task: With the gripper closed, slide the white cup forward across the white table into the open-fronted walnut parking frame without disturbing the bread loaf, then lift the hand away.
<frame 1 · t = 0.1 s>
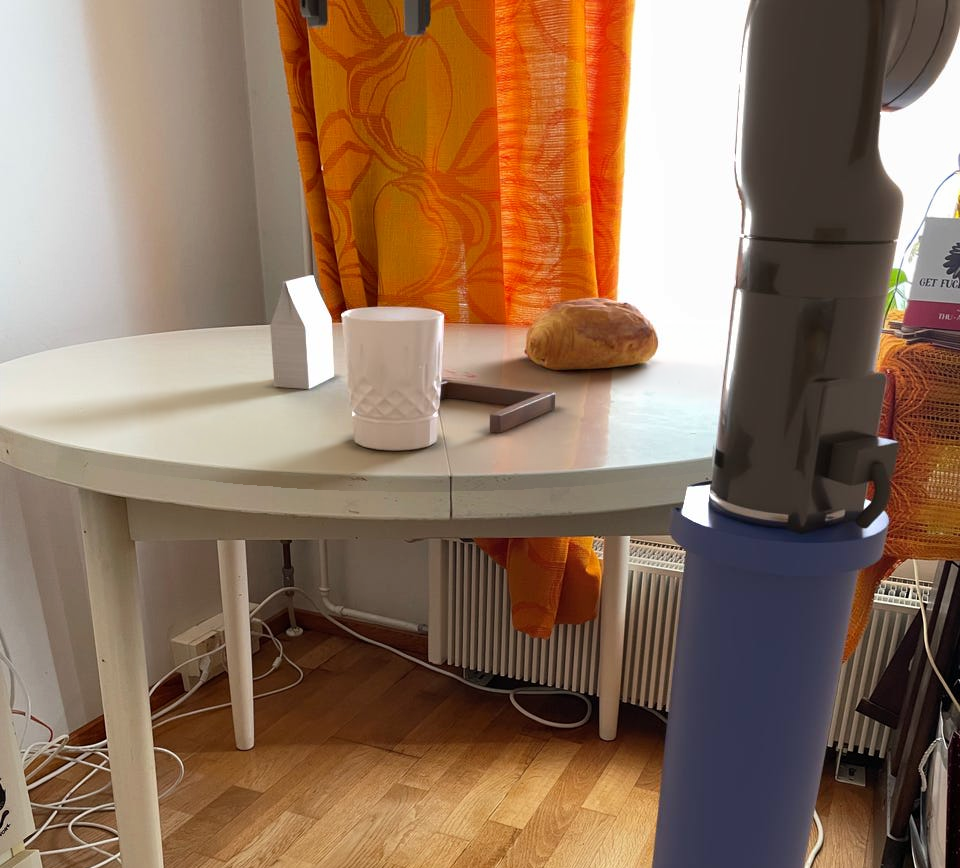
hand: (367, 31, 79), 30 cm above the table, tool pointing down, fingers open, 8 cm apart
bay: (466, 413, 93), on the table
white milk carton: (305, 383, 105), on the table
bread loaf: (586, 363, 118), on the table
white cup: (395, 443, 83), on the table
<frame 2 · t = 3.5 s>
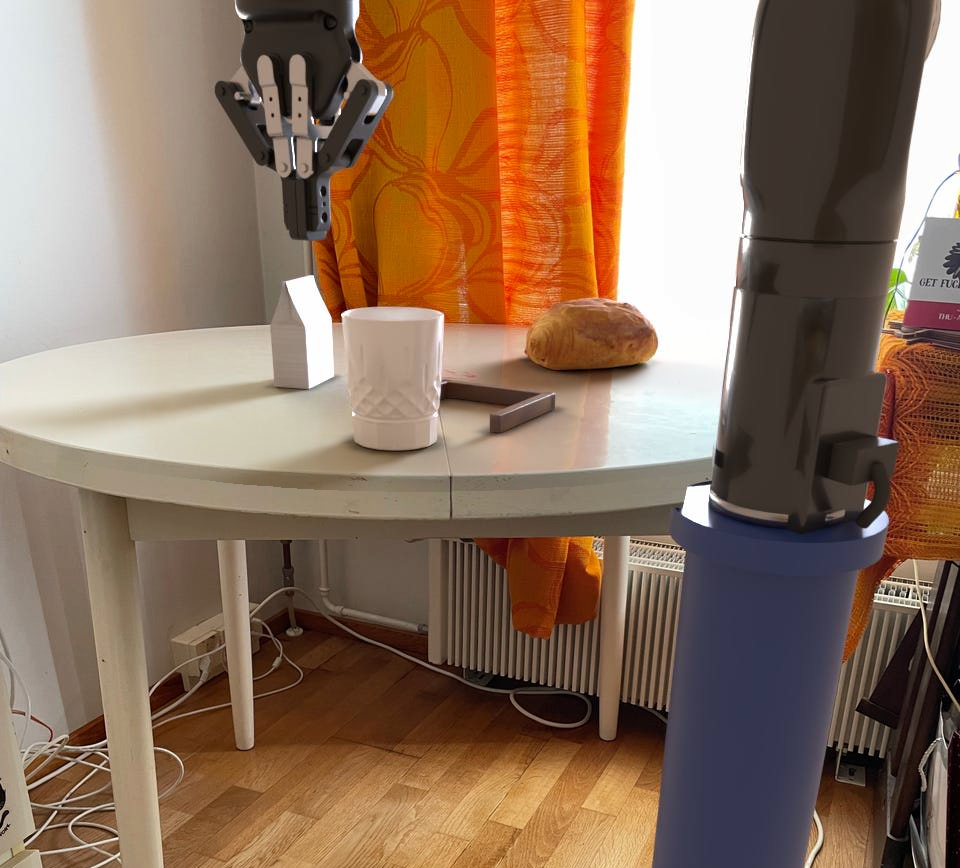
hand: (308, 239, 69), 16 cm above the table, tool pointing down, fingers closed
nothing on the table moved.
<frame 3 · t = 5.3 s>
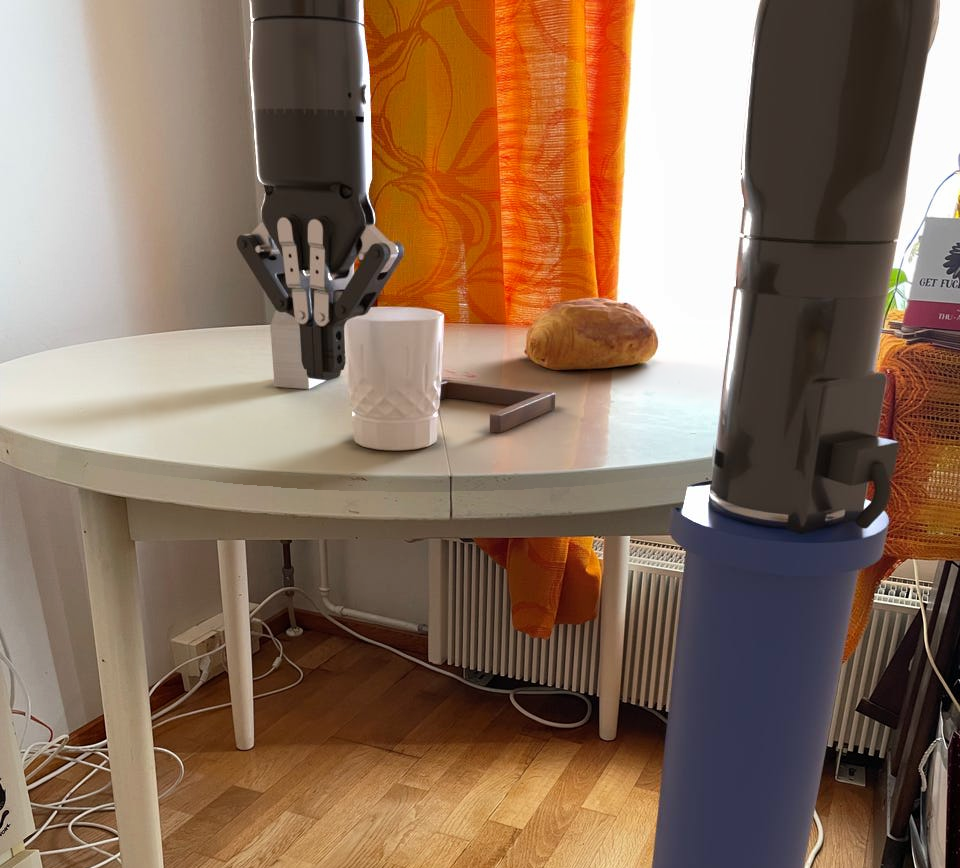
hand: (324, 377, 73), 7 cm above the table, tool pointing down, fingers closed
nothing on the table moved.
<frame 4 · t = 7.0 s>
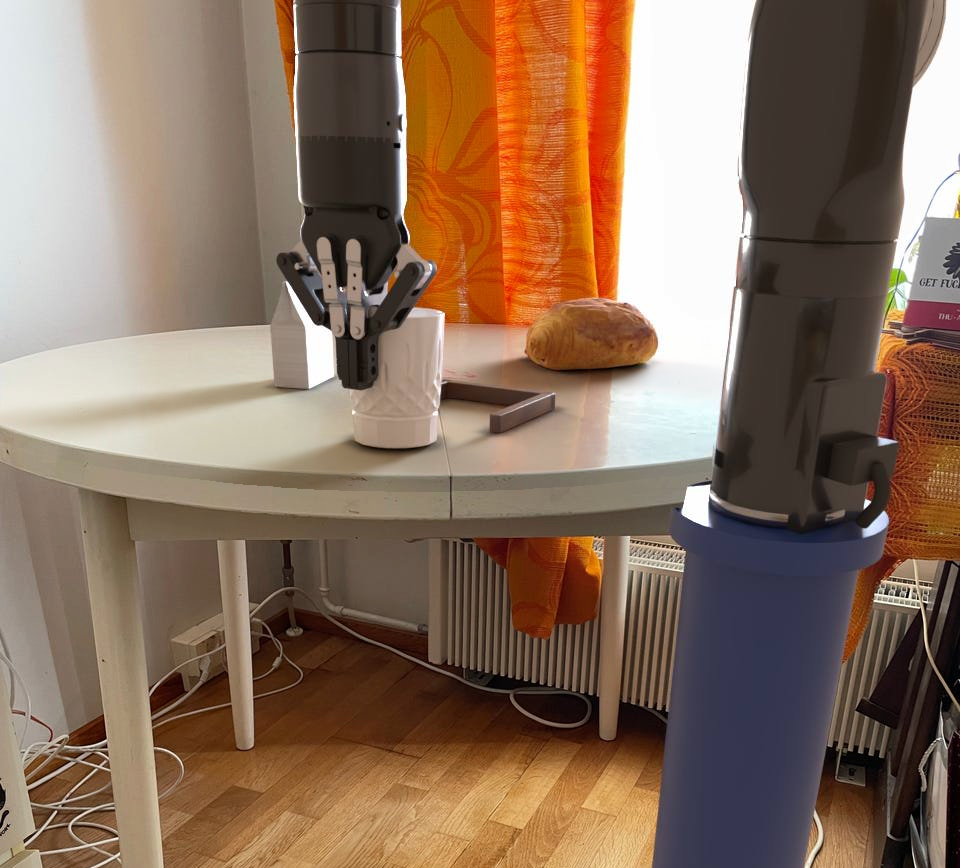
hand: (358, 387, 77), 5 cm above the table, tool pointing down, fingers closed
white cup: (395, 442, 83), on the table, touching gripper
everything else where it was.
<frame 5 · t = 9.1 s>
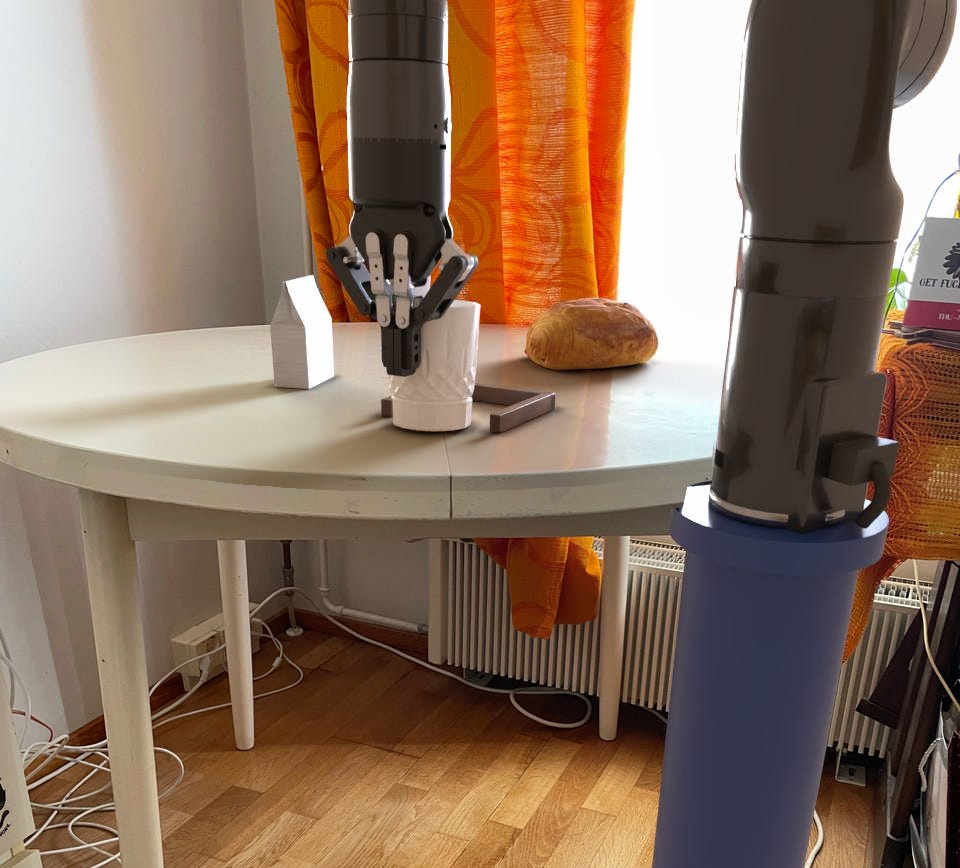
hand: (401, 374, 82), 5 cm above the table, tool pointing down, fingers closed
white cup: (431, 426, 88), on the table, touching gripper
everything else where it was.
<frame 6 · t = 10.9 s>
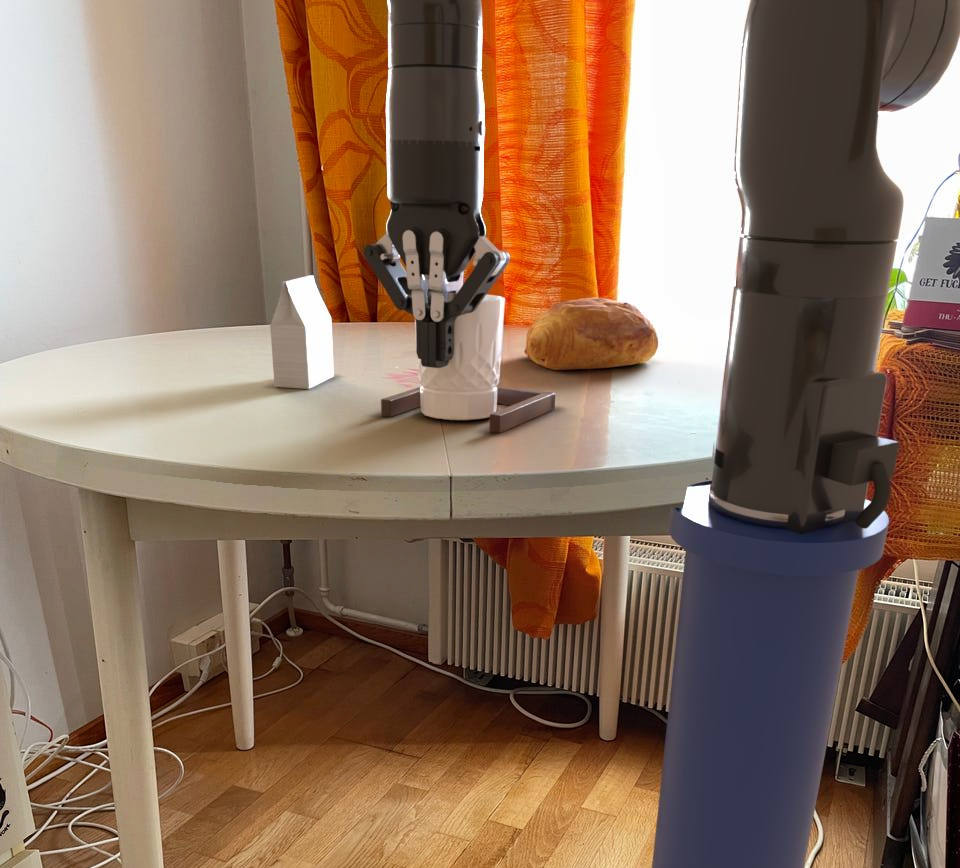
hand: (435, 365, 86), 5 cm above the table, tool pointing down, fingers closed
white cup: (458, 415, 92), on the table, touching gripper
everything else where it was.
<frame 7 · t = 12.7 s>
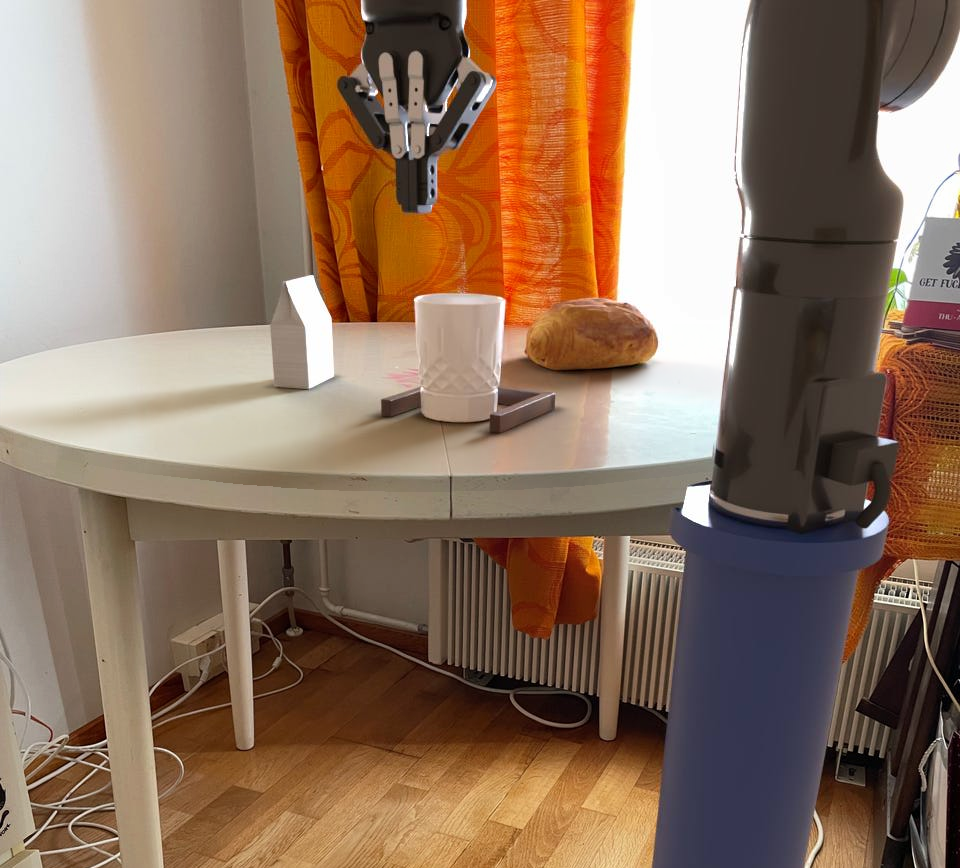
hand: (417, 212, 79), 17 cm above the table, tool pointing down, fingers closed
white cup: (459, 416, 92), on the table
everything else where it was.
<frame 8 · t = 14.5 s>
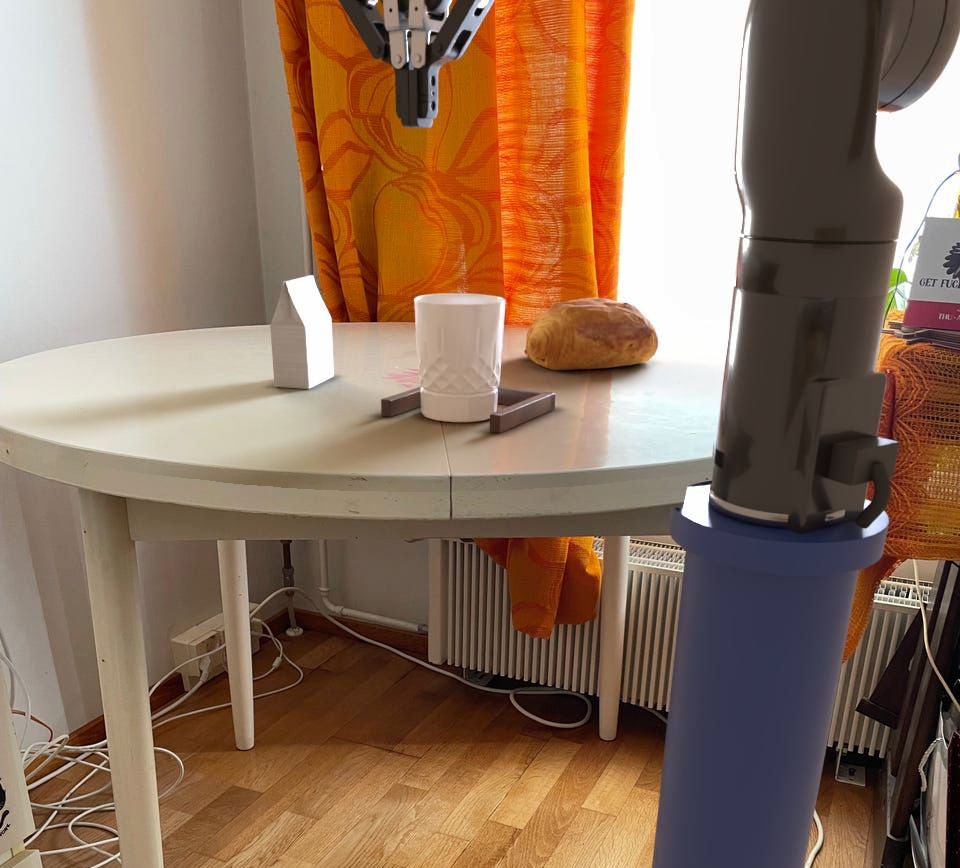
hand: (417, 127, 77), 23 cm above the table, tool pointing down, fingers closed
nothing on the table moved.
at the end: white cup inside the target area on the bay (0.9 cm from its centre), point 0.0 cm above the bay's base; white cup tilted 0°; bread loaf moved 0.2 cm from its start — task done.
